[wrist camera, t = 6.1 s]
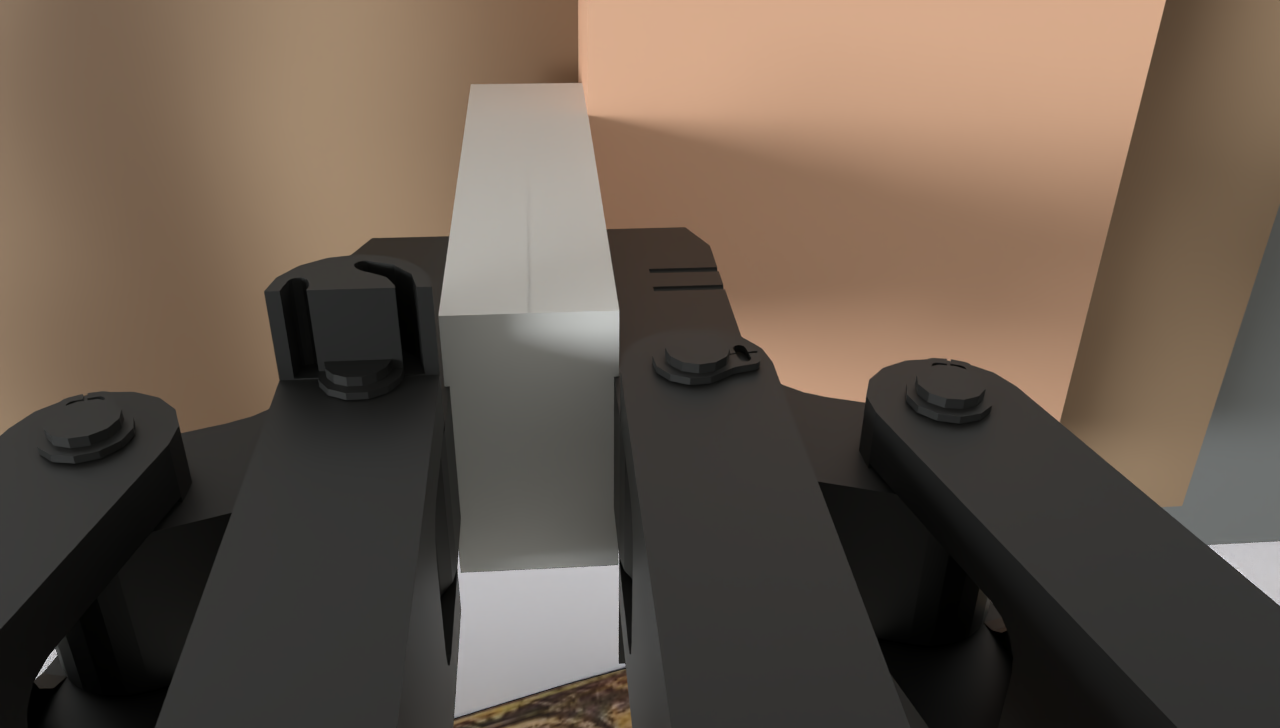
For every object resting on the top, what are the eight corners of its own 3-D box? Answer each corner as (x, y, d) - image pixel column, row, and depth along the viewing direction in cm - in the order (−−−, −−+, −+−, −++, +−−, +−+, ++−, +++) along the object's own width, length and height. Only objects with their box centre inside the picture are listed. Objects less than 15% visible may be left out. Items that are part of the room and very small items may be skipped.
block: (580, 437, 19) (587, 530, 17) (577, -232, 14) (588, -221, 12) (980, 424, 20) (1036, 512, 17) (1114, -219, 15) (1217, -207, 12)
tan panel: (36, 432, 22) (-51, 563, 19) (-221, -413, 15) (-433, -449, 12) (1088, 394, 24) (1181, 506, 21) (1284, -373, 17) (1472, -393, 14)
